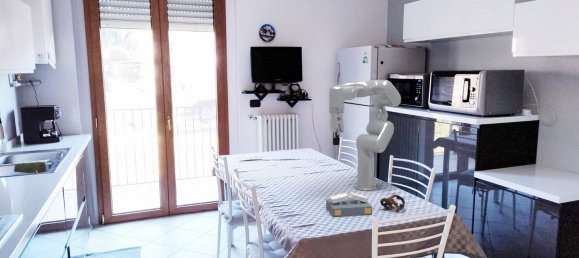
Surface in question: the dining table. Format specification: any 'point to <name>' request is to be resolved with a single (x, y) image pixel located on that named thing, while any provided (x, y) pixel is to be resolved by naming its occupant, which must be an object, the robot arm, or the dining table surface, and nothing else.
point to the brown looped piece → (393, 202)
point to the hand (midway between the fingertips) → (336, 144)
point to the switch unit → (348, 208)
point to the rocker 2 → (358, 197)
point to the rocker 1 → (339, 198)
